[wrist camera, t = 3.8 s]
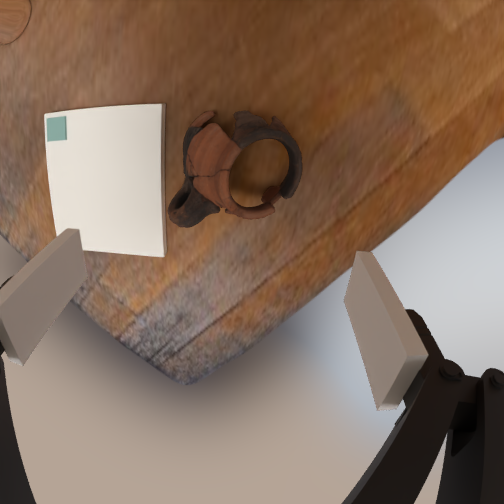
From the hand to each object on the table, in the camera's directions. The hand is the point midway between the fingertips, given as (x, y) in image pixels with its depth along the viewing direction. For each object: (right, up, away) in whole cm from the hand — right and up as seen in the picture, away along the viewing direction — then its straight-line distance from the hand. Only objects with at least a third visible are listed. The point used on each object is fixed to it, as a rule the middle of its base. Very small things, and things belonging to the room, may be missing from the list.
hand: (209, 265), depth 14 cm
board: (-13, +8, +15) cm, 21 cm away
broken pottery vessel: (0, +9, +14) cm, 17 cm away
